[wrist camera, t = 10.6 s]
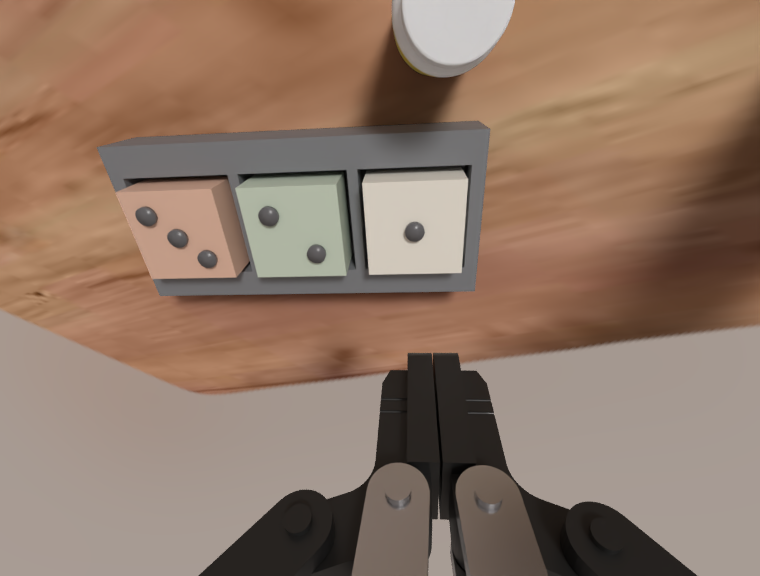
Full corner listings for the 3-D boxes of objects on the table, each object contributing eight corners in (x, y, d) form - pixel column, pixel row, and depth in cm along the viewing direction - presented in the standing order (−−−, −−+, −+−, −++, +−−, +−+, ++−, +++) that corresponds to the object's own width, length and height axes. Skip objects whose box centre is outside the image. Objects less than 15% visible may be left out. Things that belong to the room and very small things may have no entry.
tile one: (460, 166, 22) (469, 180, 19) (455, 251, 25) (462, 275, 22) (366, 169, 22) (361, 184, 19) (372, 253, 25) (368, 277, 22)
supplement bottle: (430, 95, 22) (444, 108, 14) (375, 24, 20) (360, -1, 13) (499, 26, 20) (555, 2, 13) (445, -58, 18) (473, -142, 11)
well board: (478, 120, 22) (490, 128, 19) (466, 266, 27) (474, 291, 24) (135, 137, 24) (96, 147, 21) (185, 272, 29) (160, 295, 26)
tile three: (232, 175, 23) (208, 190, 20) (253, 256, 26) (234, 279, 23) (147, 178, 23) (111, 194, 20) (177, 258, 26) (149, 281, 23)
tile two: (343, 171, 22) (335, 186, 19) (352, 254, 25) (345, 278, 22) (254, 174, 23) (233, 189, 20) (272, 256, 25) (256, 279, 23)
